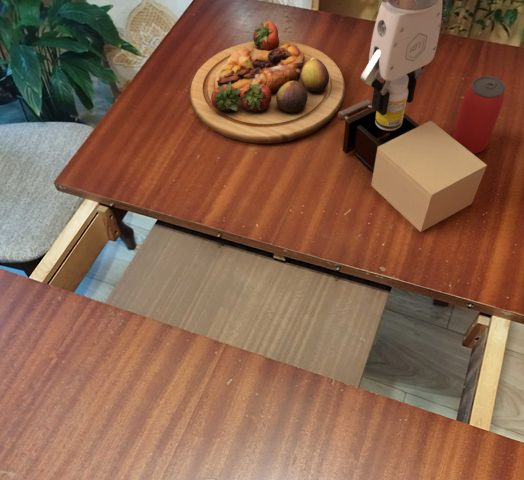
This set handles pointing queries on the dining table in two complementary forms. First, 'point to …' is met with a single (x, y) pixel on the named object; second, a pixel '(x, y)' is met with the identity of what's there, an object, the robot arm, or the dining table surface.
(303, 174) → the dining table surface
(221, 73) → the wooden plate
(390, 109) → the supplement bottle
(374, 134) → the dark brown piece
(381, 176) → the tan box
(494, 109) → the beer can
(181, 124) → the dining table surface
